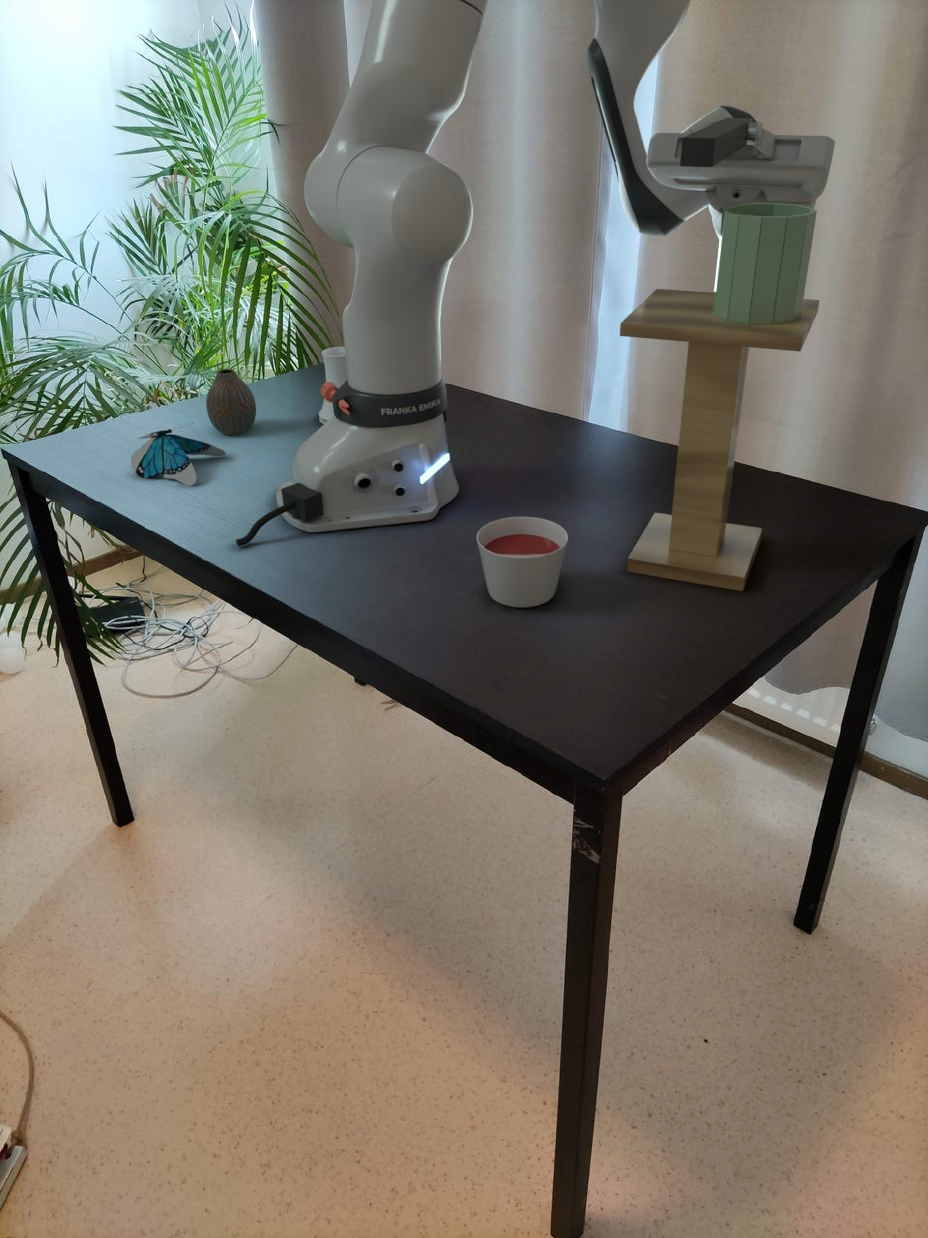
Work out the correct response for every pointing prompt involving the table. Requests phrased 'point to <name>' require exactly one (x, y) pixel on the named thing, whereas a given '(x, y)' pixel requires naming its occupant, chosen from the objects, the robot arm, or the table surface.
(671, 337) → the birch stand
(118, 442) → the table surface
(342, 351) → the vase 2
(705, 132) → the black bar
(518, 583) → the white sauce bowl
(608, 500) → the table surface
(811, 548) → the table surface
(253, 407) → the vase
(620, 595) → the table surface
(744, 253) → the green cup
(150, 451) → the decorative butterfly
